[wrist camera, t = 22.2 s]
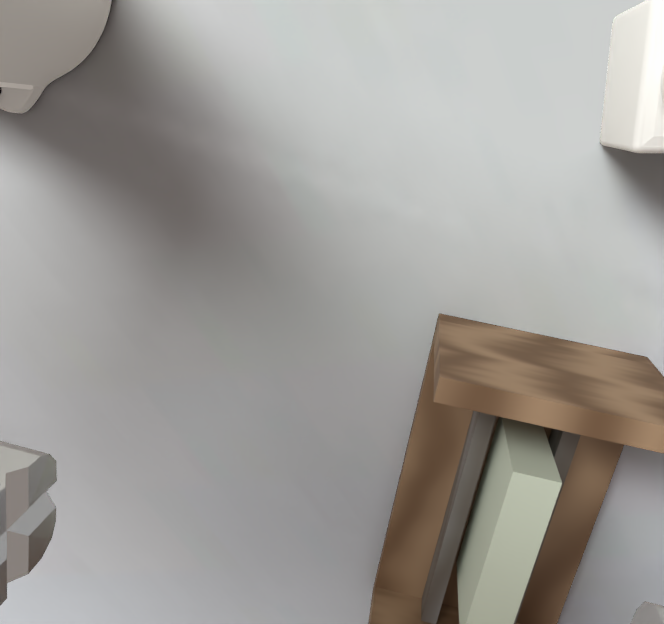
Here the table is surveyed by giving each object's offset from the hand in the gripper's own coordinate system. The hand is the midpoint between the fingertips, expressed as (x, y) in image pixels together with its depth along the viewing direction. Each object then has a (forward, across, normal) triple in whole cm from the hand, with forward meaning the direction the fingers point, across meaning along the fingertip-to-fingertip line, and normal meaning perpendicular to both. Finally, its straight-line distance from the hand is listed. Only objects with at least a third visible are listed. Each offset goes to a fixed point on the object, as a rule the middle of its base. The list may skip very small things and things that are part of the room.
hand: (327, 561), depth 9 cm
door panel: (+36, -11, +21) cm, 43 cm away
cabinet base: (+37, -11, +21) cm, 44 cm away
